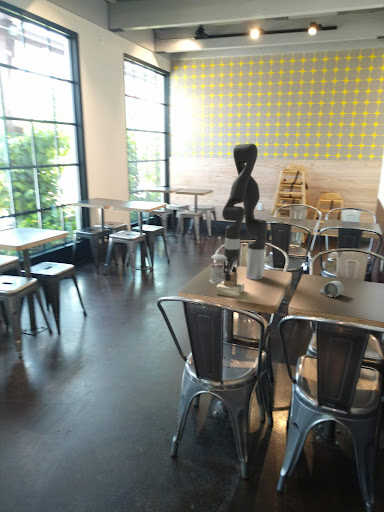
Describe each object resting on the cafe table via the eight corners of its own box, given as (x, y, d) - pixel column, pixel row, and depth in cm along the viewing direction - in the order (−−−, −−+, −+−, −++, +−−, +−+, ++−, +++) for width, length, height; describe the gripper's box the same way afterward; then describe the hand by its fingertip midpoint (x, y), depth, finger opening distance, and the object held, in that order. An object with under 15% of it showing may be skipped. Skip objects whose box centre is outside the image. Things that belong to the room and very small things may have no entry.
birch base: (224, 287, 199) (224, 280, 198) (244, 291, 195) (244, 283, 194) (215, 293, 190) (215, 286, 189) (236, 297, 185) (236, 289, 184)
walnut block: (227, 282, 194) (228, 271, 193) (236, 284, 192) (237, 272, 191) (223, 285, 190) (224, 273, 189) (233, 287, 188) (233, 275, 186)
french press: (205, 280, 209) (206, 236, 203) (219, 276, 217) (221, 233, 210) (218, 285, 202) (219, 239, 196) (232, 281, 210) (234, 236, 203)
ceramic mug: (344, 295, 191) (345, 280, 189) (337, 299, 185) (338, 284, 183) (323, 290, 198) (325, 276, 196) (316, 294, 192) (317, 279, 190)
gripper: (230, 243, 194) (229, 273, 198) (219, 249, 182) (218, 281, 186) (244, 244, 191) (242, 275, 195) (234, 251, 178) (232, 283, 183)
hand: (230, 278), depth 190 cm, fingers open, 8 cm apart
